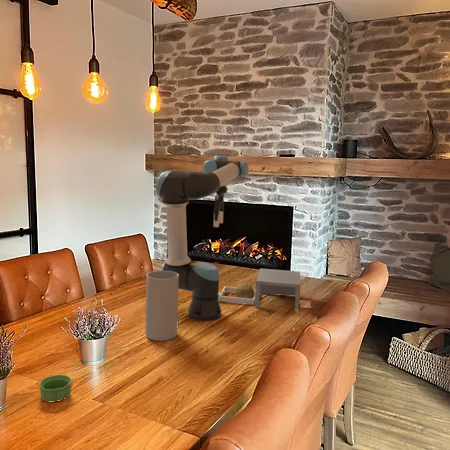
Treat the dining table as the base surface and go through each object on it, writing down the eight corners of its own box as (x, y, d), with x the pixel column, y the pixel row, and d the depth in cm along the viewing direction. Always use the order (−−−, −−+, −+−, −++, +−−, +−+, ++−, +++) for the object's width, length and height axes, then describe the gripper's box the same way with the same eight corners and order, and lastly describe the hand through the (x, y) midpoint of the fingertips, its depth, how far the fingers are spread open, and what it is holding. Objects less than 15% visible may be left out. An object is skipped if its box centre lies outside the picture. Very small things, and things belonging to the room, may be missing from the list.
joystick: (256, 293, 238) (258, 265, 236) (254, 304, 221) (255, 274, 218) (201, 288, 242) (202, 260, 240) (194, 298, 225) (195, 268, 223)
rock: (241, 309, 225) (251, 294, 222) (227, 293, 231) (237, 279, 227) (252, 306, 233) (262, 292, 229) (238, 291, 238) (248, 277, 235)
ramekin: (75, 388, 138) (75, 374, 137) (66, 404, 129) (66, 390, 128) (45, 387, 137) (45, 374, 137) (34, 403, 129) (34, 389, 128)
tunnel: (310, 297, 238) (312, 272, 235) (312, 313, 213) (314, 285, 211) (258, 292, 241) (260, 268, 239) (254, 307, 217) (256, 280, 215)
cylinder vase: (147, 342, 172) (148, 279, 168) (143, 330, 184) (145, 271, 180) (179, 340, 176) (181, 278, 172) (174, 328, 188) (176, 270, 184)
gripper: (223, 187, 227) (221, 228, 230) (230, 184, 251) (228, 222, 255) (208, 186, 228) (207, 227, 231) (216, 183, 252) (215, 221, 256)
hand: (218, 224), depth 243 cm, fingers open, 13 cm apart
